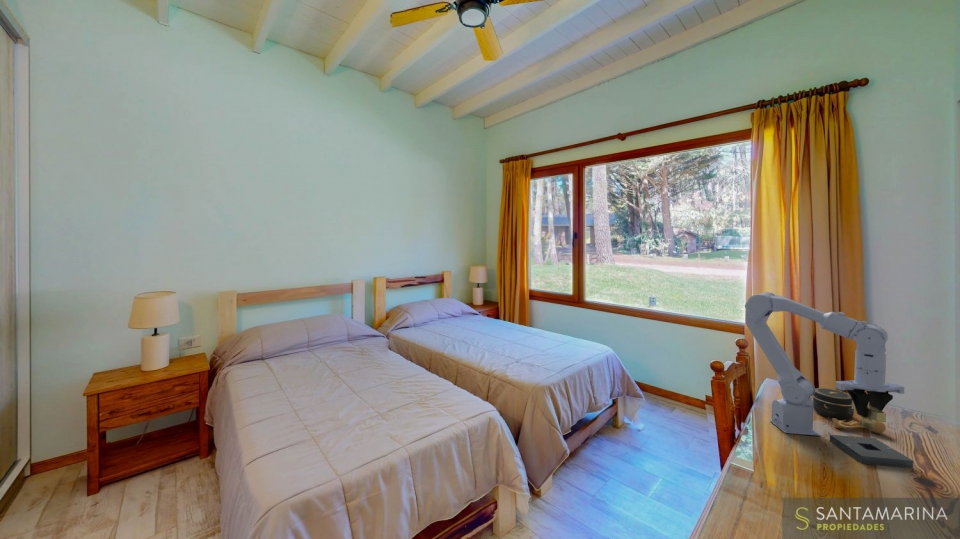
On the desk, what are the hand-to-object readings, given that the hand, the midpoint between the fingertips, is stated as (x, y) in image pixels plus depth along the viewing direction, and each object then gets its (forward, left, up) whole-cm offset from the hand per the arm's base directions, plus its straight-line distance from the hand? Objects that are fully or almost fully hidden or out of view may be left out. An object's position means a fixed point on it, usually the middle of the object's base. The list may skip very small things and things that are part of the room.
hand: (867, 416), depth 97 cm
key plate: (-1, -2, -10) cm, 10 cm away
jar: (+7, +23, -10) cm, 26 cm away
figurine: (+12, +11, -9) cm, 19 cm away
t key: (0, 0, -3) cm, 3 cm away
